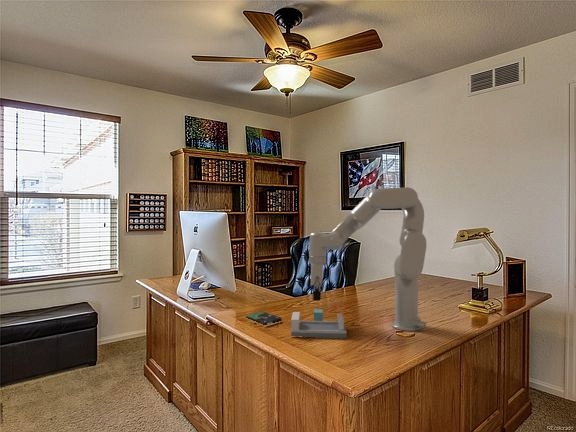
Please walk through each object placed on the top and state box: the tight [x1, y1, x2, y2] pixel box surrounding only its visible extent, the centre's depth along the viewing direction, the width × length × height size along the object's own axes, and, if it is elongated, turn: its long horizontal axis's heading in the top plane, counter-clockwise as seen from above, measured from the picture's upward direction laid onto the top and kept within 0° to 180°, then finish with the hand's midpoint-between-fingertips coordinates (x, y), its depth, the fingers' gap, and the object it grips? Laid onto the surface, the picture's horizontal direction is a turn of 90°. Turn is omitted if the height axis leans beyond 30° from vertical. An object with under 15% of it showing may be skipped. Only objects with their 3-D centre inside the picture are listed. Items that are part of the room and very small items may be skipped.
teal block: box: [313, 308, 324, 321], centre depth 163 cm, size 4×5×6 cm
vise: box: [290, 311, 348, 339], centre depth 150 cm, size 22×12×7 cm, turn 86°
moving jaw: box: [336, 313, 345, 331], centre depth 149 cm, size 2×10×4 cm, turn 176°
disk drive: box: [245, 311, 283, 325], centre depth 166 cm, size 10×3×15 cm
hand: (316, 297), depth 163 cm, fingers open, 9 cm apart
